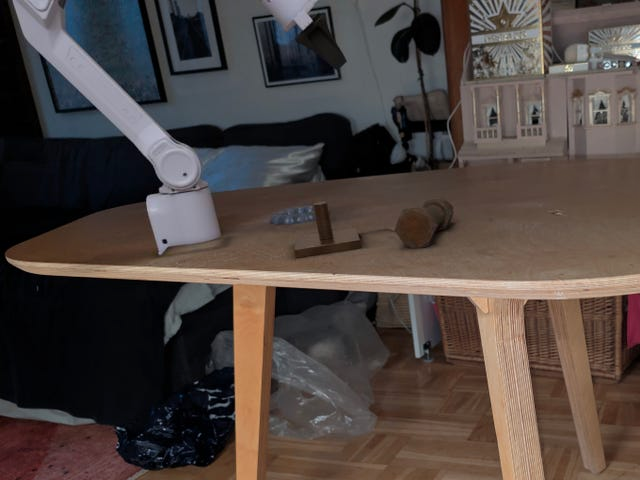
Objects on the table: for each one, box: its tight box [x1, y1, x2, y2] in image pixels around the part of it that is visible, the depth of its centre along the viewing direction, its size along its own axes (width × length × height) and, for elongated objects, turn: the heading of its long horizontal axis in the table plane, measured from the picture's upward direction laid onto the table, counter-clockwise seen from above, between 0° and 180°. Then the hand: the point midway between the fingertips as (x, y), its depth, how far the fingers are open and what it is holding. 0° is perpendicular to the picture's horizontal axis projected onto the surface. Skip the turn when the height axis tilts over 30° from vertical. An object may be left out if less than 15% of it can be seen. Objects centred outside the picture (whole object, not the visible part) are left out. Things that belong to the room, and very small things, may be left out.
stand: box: [293, 201, 362, 259], centre depth 100 cm, size 9×9×6 cm
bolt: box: [394, 198, 454, 249], centre depth 100 cm, size 6×5×15 cm
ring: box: [269, 204, 331, 225], centre depth 119 cm, size 10×10×2 cm
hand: (340, 64), depth 110 cm, fingers open, 7 cm apart
